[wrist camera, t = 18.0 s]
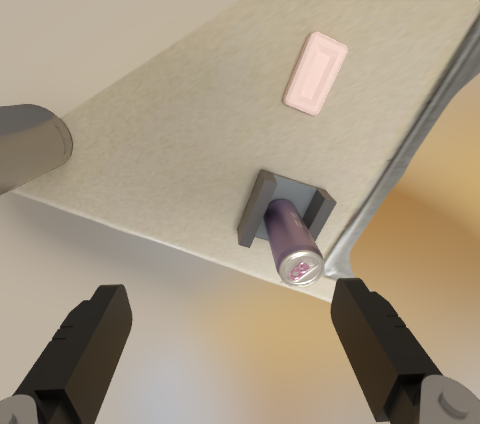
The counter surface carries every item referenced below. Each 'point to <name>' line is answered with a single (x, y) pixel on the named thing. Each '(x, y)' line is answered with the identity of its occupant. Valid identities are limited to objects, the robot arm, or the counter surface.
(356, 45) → the counter surface
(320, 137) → the counter surface
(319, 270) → the beverage can
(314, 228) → the duct channel
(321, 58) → the soap bar
